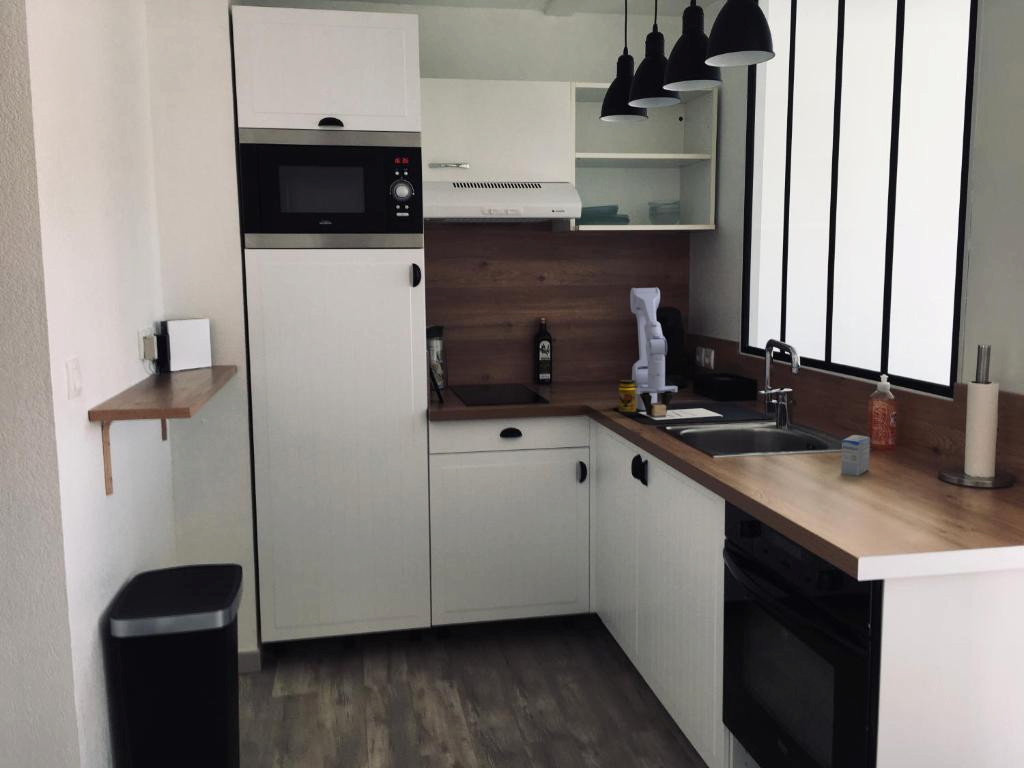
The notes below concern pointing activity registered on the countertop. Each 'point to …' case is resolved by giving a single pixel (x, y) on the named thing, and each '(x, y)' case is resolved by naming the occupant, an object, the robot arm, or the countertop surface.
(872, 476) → the countertop surface
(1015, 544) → the countertop surface
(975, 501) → the countertop surface
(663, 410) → the cork block
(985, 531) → the countertop surface
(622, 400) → the condiment
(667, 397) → the robot arm
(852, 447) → the medicine box
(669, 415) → the board
